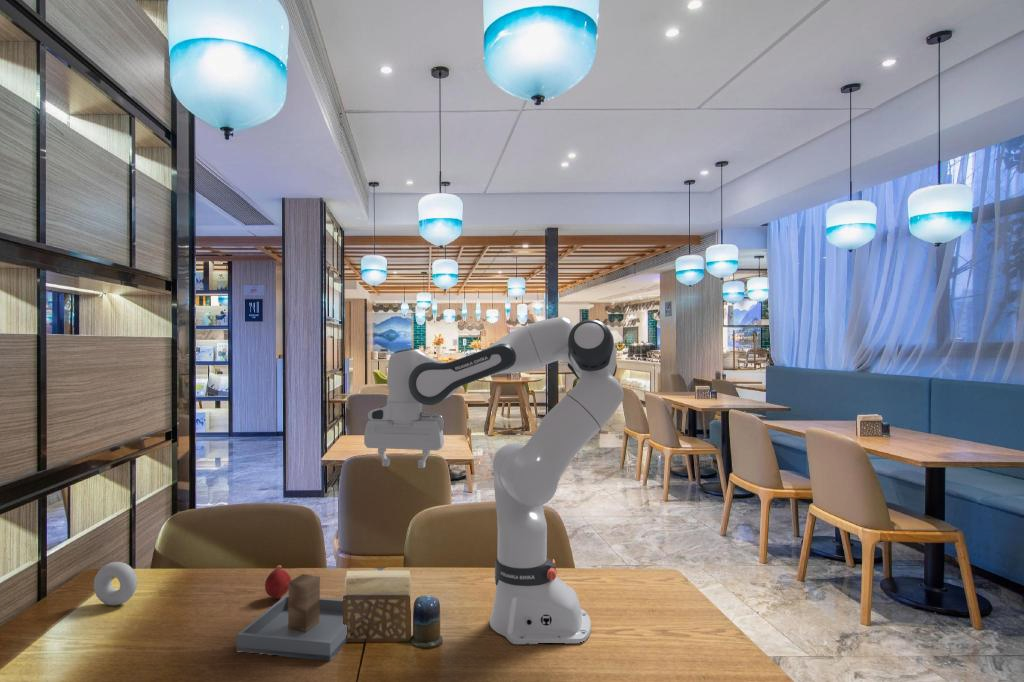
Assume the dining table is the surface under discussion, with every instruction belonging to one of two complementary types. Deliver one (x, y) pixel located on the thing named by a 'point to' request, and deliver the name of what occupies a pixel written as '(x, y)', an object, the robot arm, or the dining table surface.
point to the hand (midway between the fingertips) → (403, 466)
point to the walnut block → (304, 603)
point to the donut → (105, 588)
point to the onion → (277, 583)
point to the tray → (295, 633)
